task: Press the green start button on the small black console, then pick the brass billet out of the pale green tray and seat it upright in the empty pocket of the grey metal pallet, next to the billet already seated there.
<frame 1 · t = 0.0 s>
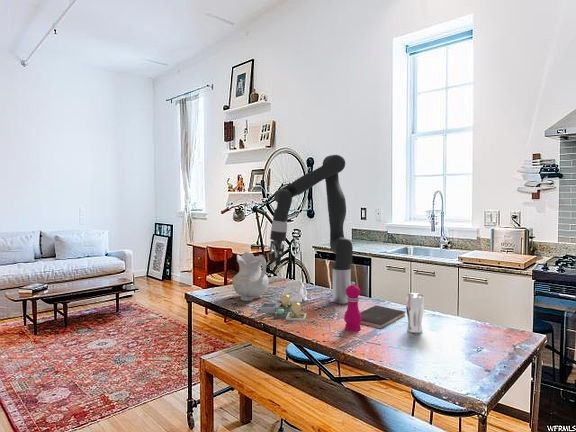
hand: (274, 263, 195), 22 cm above the table, tool pointing down, fingers open, 8 cm apart
skull bowl: (296, 303, 207), on the table
hardcover book: (377, 319, 182), on the table
console: (280, 319, 181), on the table
start button: (280, 312, 181), point 3 cm above the table, slide at 0.0 cm
ceramic pitcher: (252, 299, 215), on the table
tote: (296, 319, 180), on the table
billet 2: (296, 318, 180), point 1 cm above the table, touching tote
pepper mill: (352, 329, 168), on the table
billet 1: (285, 309, 191), point 1 cm above the table, touching pallet
pallet: (277, 312, 191), on the table
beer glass: (414, 331, 165), on the table
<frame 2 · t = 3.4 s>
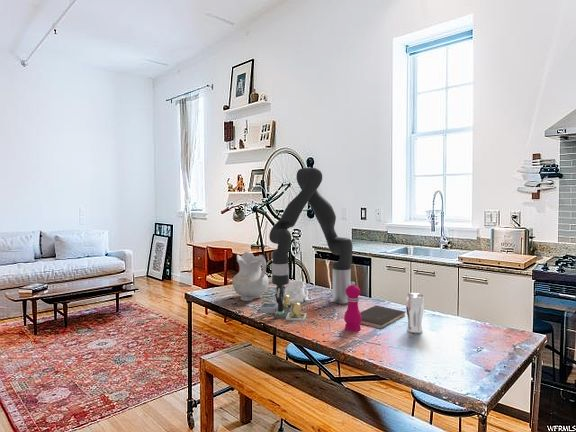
hand: (280, 311, 181), 4 cm above the table, tool pointing down, fingers closed
start button: (280, 313, 181), point 3 cm above the table, slide at 0.6 cm, touching gripper
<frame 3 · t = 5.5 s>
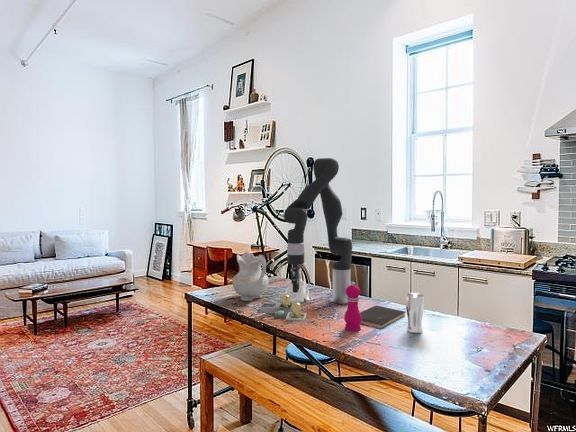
hand: (296, 290, 179), 13 cm above the table, tool pointing down, fingers open, 4 cm apart
start button: (280, 313, 181), point 2 cm above the table, slide at 0.9 cm
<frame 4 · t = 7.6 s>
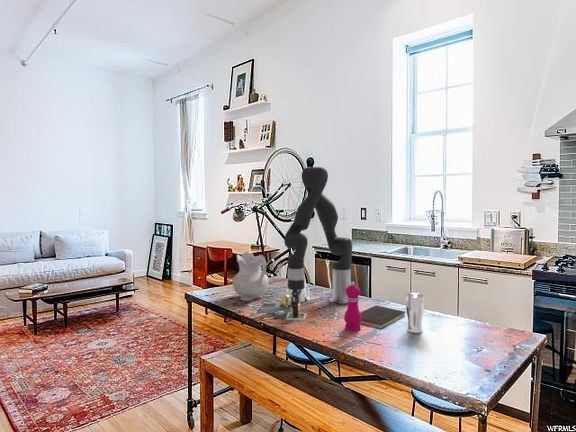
hand: (296, 315, 180), 2 cm above the table, tool pointing down, fingers closed on billet 2, 4 cm apart
billet 2: (296, 318, 180), point 1 cm above the table, touching gripper, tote
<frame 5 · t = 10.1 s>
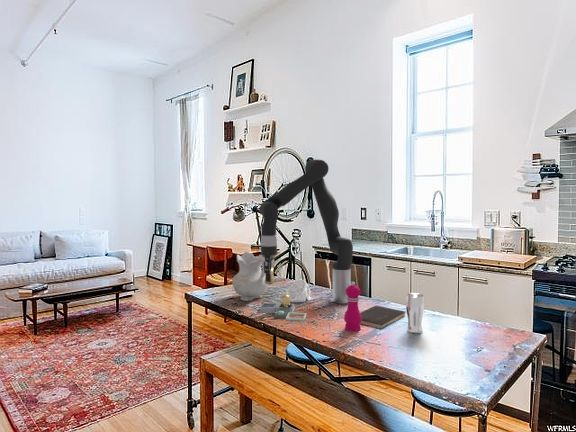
hand: (269, 280, 191), 15 cm above the table, tool pointing down, fingers closed on billet 2, 4 cm apart
billet 2: (269, 283, 191), point 14 cm above the table, touching gripper
when the fingers open (3 cm above the table, at t = 12.7 s): billet 2 stays where it is, resting on pallet.
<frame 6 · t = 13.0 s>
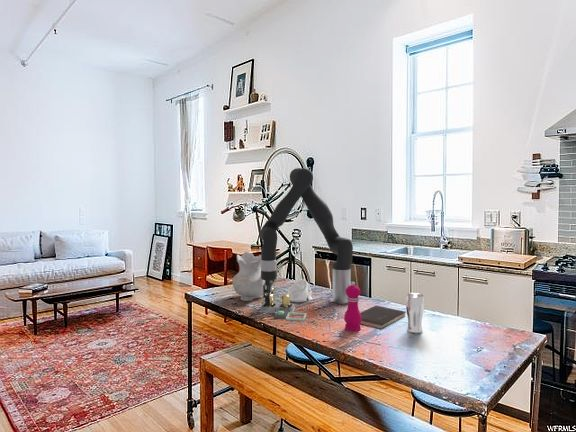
hand: (269, 303, 192), 4 cm above the table, tool pointing down, fingers open, 6 cm apart
billet 2: (269, 309, 192), point 1 cm above the table, touching pallet
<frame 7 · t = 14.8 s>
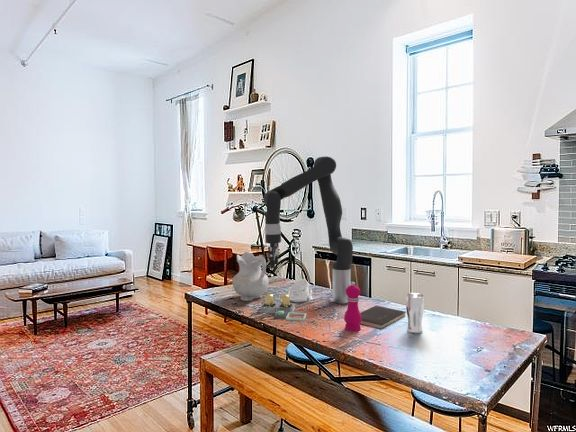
hand: (274, 266, 195), 21 cm above the table, tool pointing down, fingers open, 8 cm apart
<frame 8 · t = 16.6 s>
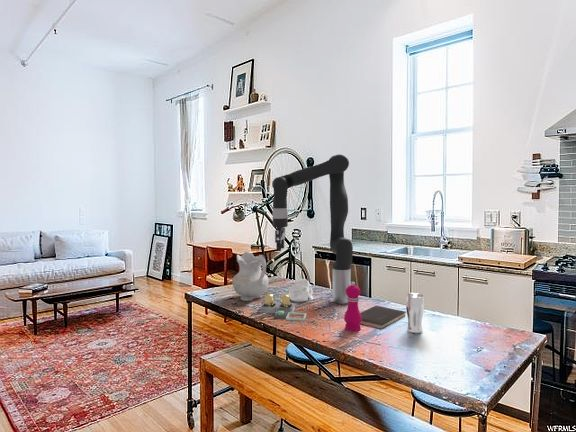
hand: (280, 249, 201), 28 cm above the table, tool pointing down, fingers open, 8 cm apart
at the end: billet 2 0.0 cm from the target spot on the pallet, point 1.2 cm above the pallet's base; billet 2 tilted 1°; the gripper is holding nothing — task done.
